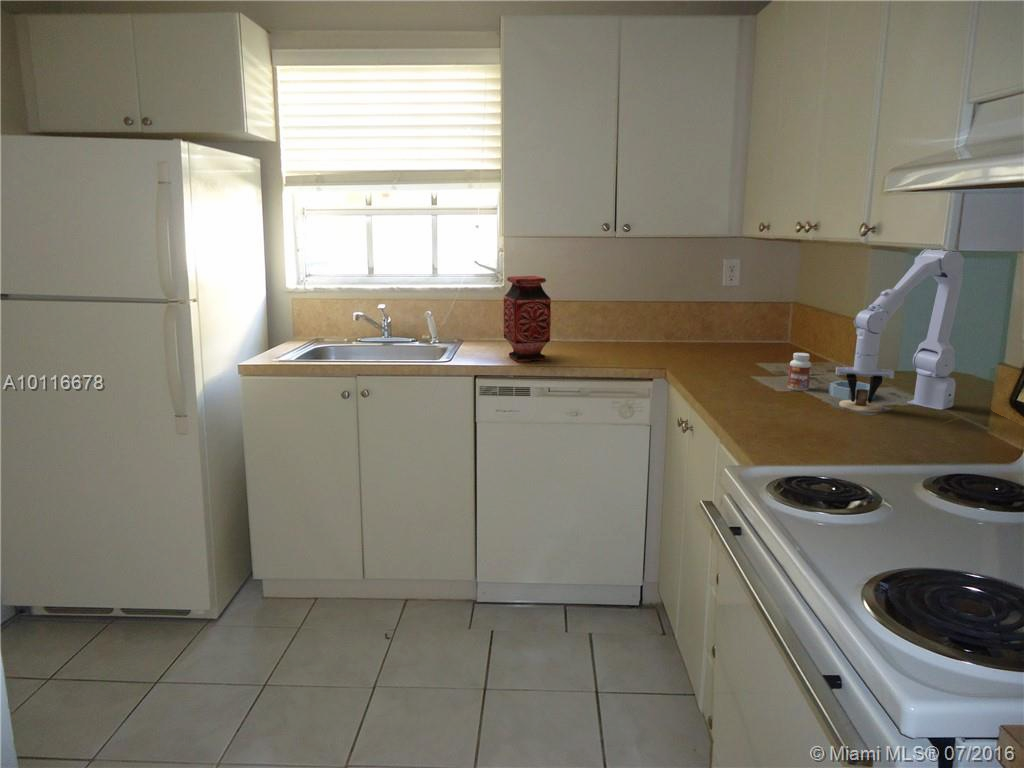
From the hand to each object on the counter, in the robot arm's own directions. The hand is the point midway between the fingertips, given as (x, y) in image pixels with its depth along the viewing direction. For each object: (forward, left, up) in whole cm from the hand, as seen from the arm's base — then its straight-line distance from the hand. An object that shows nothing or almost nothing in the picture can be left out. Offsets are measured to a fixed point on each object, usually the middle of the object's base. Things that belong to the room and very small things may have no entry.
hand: (861, 401), depth 207 cm
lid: (0, 0, -2) cm, 2 cm away
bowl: (+9, -11, -2) cm, 14 cm away
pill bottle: (+24, -7, -2) cm, 25 cm away
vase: (+111, +33, -2) cm, 116 cm away
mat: (0, 0, -2) cm, 2 cm away
